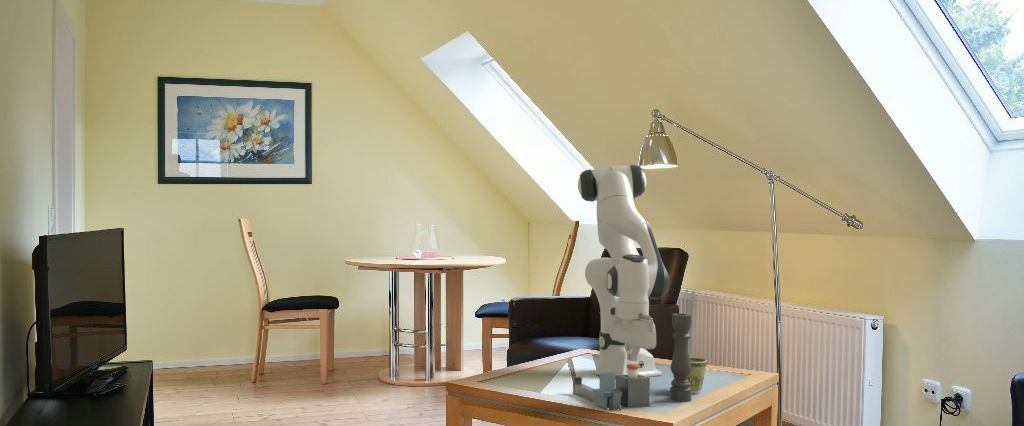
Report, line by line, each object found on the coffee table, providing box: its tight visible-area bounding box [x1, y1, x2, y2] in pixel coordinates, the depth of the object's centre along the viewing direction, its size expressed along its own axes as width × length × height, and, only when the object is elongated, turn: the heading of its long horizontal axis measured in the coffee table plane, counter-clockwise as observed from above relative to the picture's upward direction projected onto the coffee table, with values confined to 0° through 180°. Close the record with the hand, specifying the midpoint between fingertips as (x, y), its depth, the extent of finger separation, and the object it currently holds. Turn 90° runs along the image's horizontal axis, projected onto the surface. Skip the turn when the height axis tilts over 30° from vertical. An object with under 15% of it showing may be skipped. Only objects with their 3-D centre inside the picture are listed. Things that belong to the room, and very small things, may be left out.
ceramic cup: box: [688, 356, 708, 395], centre depth 273 cm, size 13×10×10 cm
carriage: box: [593, 372, 622, 409], centre depth 250 cm, size 6×6×9 cm
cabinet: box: [615, 374, 651, 409], centre depth 253 cm, size 7×7×8 cm
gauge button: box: [627, 364, 639, 378], centre depth 253 cm, size 3×3×6 cm
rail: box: [572, 376, 621, 411], centre depth 256 cm, size 2×24×5 cm, turn 23°
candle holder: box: [669, 312, 693, 403], centre depth 260 cm, size 6×6×25 cm
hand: (632, 360), depth 253 cm, fingers closed
